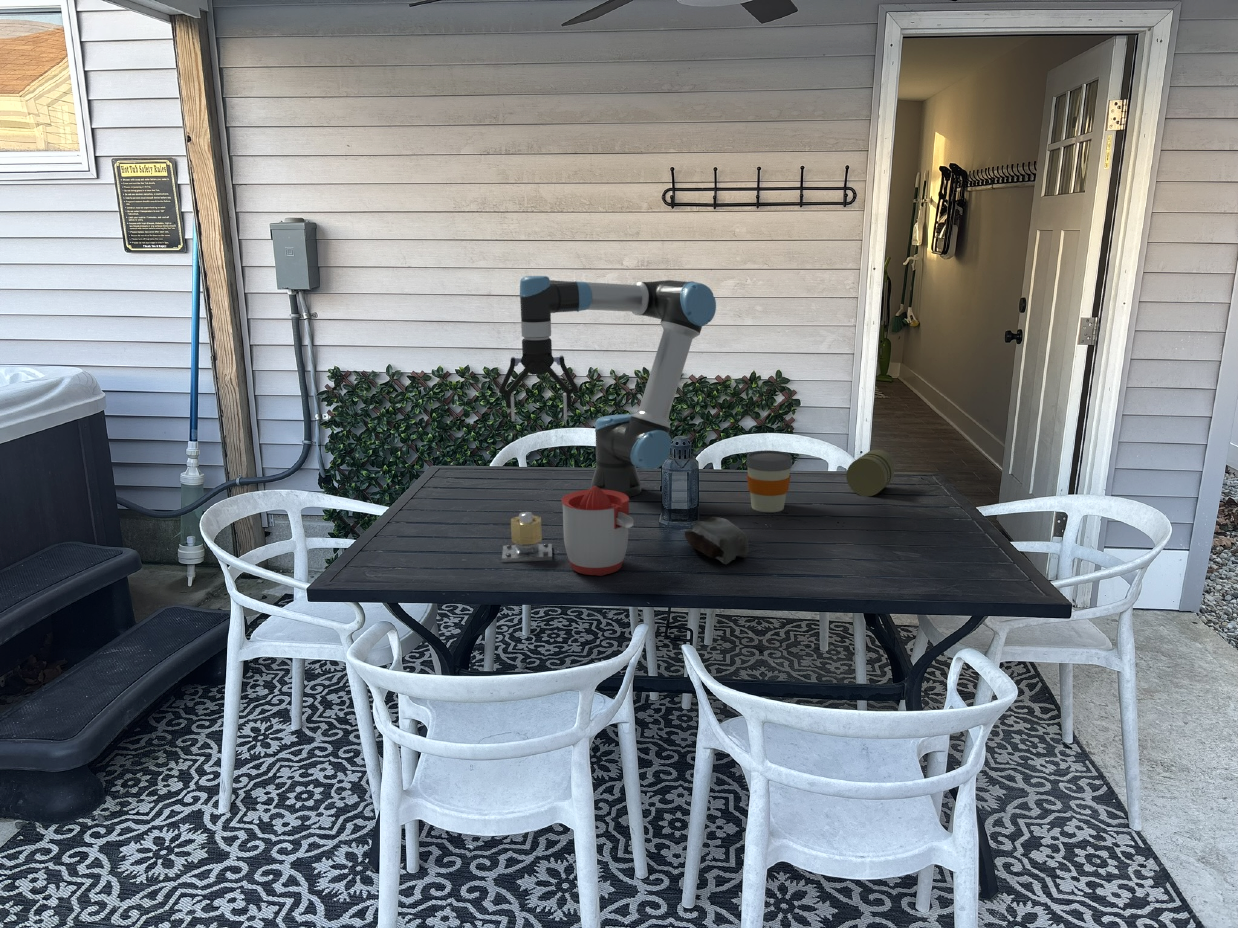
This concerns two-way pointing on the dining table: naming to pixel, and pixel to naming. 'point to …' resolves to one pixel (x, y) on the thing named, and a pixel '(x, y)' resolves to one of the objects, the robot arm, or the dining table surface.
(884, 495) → the dining table surface
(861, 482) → the piston
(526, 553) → the shaft stand
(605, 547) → the citrus juicer
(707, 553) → the dark grey lump
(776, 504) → the reusable coffee cup
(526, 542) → the hub
